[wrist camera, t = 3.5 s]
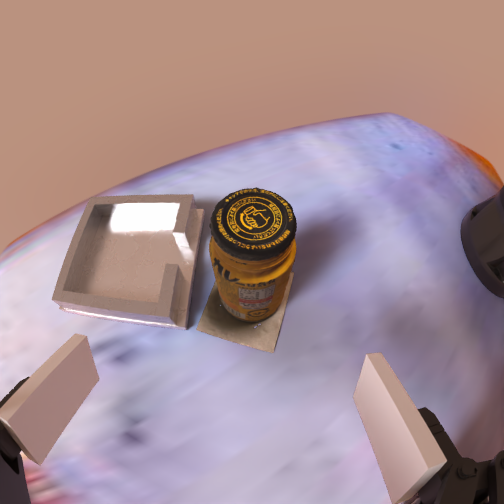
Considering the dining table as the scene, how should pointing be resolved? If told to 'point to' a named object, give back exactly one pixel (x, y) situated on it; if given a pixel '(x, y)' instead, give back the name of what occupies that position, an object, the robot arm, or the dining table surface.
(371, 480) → the dining table surface
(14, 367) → the dining table surface
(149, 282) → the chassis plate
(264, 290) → the condiment
